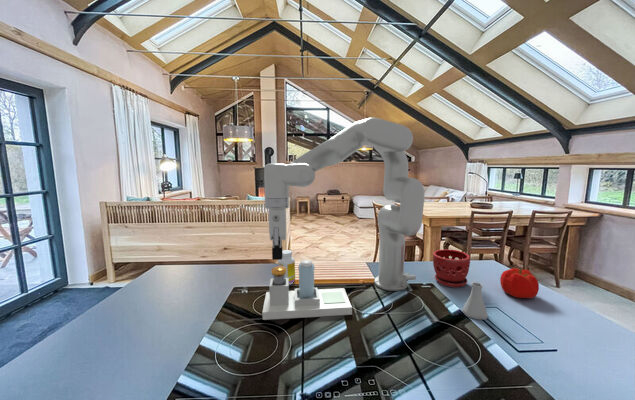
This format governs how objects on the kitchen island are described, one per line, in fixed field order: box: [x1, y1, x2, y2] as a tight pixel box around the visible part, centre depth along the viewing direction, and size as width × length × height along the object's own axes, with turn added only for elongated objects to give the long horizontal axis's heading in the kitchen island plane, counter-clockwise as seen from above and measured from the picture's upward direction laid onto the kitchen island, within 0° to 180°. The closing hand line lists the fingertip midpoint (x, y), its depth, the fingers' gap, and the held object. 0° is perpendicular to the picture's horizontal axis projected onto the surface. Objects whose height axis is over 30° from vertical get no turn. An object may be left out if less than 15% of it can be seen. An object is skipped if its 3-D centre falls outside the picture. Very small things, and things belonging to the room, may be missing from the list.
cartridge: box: [298, 259, 315, 299], centre depth 89 cm, size 5×5×13 cm
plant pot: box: [432, 248, 471, 288], centre depth 106 cm, size 13×13×12 cm
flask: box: [461, 281, 488, 320], centre depth 84 cm, size 7×7×10 cm
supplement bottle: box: [277, 249, 296, 286], centre depth 107 cm, size 7×7×13 cm
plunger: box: [271, 266, 286, 285], centre depth 88 cm, size 5×5×8 cm
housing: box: [261, 278, 353, 321], centre depth 89 cm, size 28×13×9 cm, turn 95°
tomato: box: [499, 267, 540, 299], centre depth 97 cm, size 11×12×9 cm
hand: (277, 258), depth 87 cm, fingers closed
